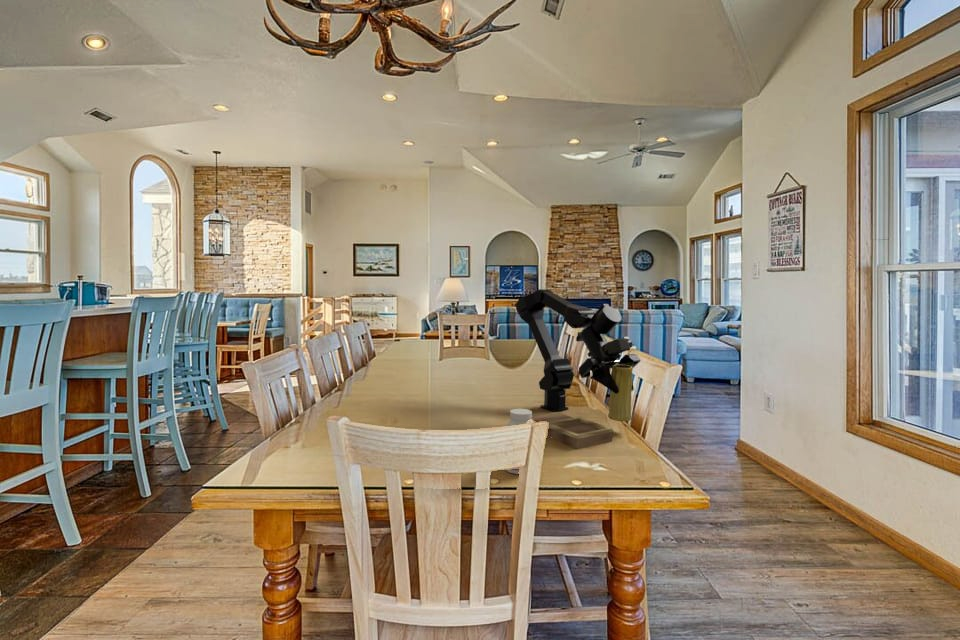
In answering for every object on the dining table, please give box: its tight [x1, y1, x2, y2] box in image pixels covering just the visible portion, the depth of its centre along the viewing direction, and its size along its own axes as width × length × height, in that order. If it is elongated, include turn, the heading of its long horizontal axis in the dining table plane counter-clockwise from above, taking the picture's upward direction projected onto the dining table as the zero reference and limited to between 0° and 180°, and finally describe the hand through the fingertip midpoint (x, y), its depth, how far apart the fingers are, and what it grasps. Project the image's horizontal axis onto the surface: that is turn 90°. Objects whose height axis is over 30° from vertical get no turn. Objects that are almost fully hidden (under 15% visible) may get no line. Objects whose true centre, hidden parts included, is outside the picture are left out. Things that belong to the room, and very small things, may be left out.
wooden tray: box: [531, 412, 613, 450], centre depth 138 cm, size 20×12×3 cm, turn 32°
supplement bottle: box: [505, 408, 533, 475], centre depth 112 cm, size 7×7×13 cm
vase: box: [607, 364, 633, 422], centre depth 140 cm, size 6×6×14 cm
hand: (625, 391), depth 139 cm, fingers closed on vase, 5 cm apart
